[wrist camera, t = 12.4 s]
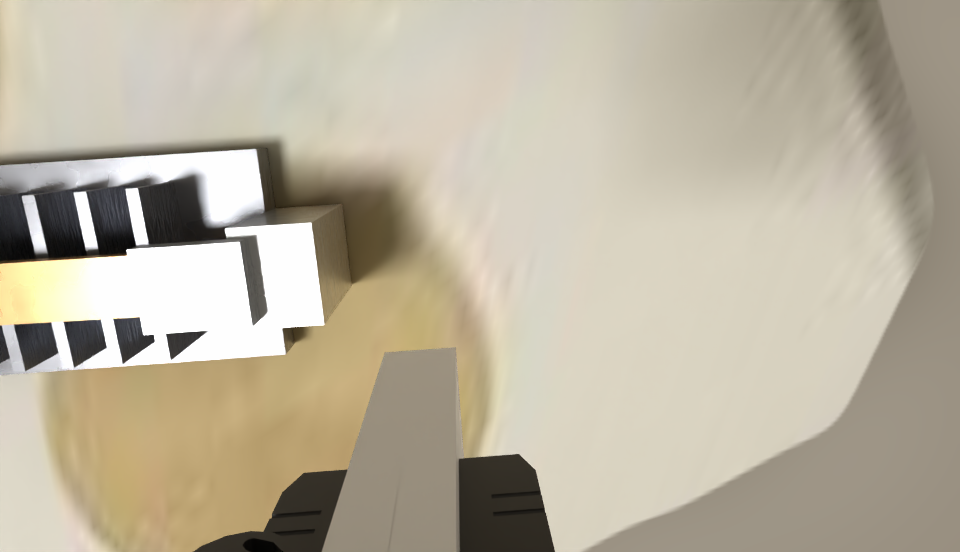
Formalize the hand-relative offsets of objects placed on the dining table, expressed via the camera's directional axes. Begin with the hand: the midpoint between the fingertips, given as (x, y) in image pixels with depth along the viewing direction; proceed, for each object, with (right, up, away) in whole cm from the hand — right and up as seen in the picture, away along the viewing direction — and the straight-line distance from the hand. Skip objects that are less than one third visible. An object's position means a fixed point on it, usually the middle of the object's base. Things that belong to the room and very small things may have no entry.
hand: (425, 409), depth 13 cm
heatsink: (-21, +4, +23) cm, 32 cm away
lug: (-11, +4, +23) cm, 26 cm away
